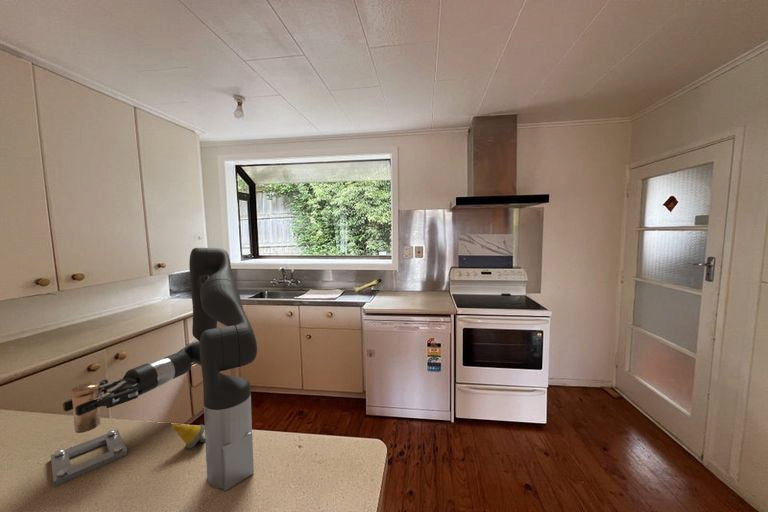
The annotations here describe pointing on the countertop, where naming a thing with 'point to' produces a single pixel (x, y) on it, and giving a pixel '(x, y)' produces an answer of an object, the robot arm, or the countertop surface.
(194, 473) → the countertop surface
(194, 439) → the drill bit
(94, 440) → the flange
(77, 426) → the pipe stub
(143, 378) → the robot arm
